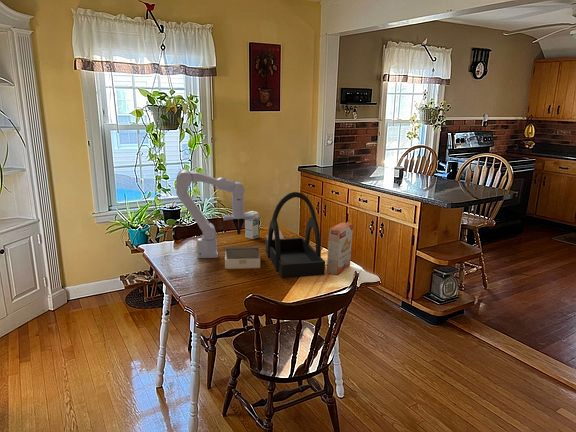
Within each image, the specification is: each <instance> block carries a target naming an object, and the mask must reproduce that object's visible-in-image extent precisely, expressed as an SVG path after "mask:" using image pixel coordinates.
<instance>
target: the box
mask: <svg viewBox="0 0 576 432" xmlns="http://www.w3.org/2000/svg"><path fill="white" fill-rule="evenodd" d="M224 250H225V252H224V253H225V254H224V269H227V270H230V269H231V270H232V269H233V270H234V269H260V268H261V256H260V255H261V254H260V249H224Z"/></svg>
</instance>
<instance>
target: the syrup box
mask: <svg viewBox="0 0 576 432" xmlns="http://www.w3.org/2000/svg"><path fill="white" fill-rule="evenodd" d="M244 214H247V215H253V219H244V230H245V231H244V233H245V236H244V237H245V238H246V239H250V240H254V239H257V238H260V211H259V212H258V211H255V210H251V211H246V212H244Z"/></svg>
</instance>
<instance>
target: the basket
mask: <svg viewBox="0 0 576 432" xmlns="http://www.w3.org/2000/svg"><path fill="white" fill-rule="evenodd" d="M294 198H298V199H301V200H303V201H304V202H305V204H306V206H307V207H308V209H309V212H310V217H309V218H308V221H307V223H306V229H305V236H304V237H305V238H304V237H290V238H289V237H288V238H285V239H280V236H279V230H280V229H279V224H278V217H279V214H280V211H281V210H282V208H283V206H284V205H285V204H286V203H287V202H288V201H289V200H292V199H294ZM312 229H313V234H314V239H315V249H314V248H313V247H312V245H310V241H311V240H310V239H311V233H312ZM273 231H274V235H275V239H272V238H273ZM320 233H321V232H320V227H319V223H318V221H317V216H316V212H315V208H314V206H313V204H312V202H311V200H310V199H309V197H308V196H306V195H305V194H304V193H302V192H298V191H292V192H288V193H287V194H285V195H283V197H282V198H280V200H279V201H278V203H277V204H276V206H275V208H274V211H273V214H272V217H271V220H270V222H269V227H268V233H267V235H268V240H267V239H265V253H266V255H267V259H269V260H270V262H271V263H272V265H273V266H274V268H275V272H276V273H278V275H279V276H280V279H293V278H294V279H295V278H305V277H306V278H307V277H317V276H325V275H326V274H325V273H326V271H325V270H326V261H325V260H324V258H323V257H322V256H321V255H322V246H321V244H322V243H321V242H322V241H321V234H320Z"/></svg>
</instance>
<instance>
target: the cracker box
mask: <svg viewBox="0 0 576 432" xmlns="http://www.w3.org/2000/svg"><path fill="white" fill-rule="evenodd" d="M353 229H354V223H350V222H344V221H342V222H340V223H338V224H336V225H333V226H332V227H330V228H329V229H328V243H327V244H328V245H327V260H326V273H328V274H332V275H335V276H338V275H339V274H341V273H342V272H343V271H345V270H346V269H348V268H349V267H350V266H351V258H352V247H353V244H352V243H353V242H352V241H353V231H354V230H353Z"/></svg>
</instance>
